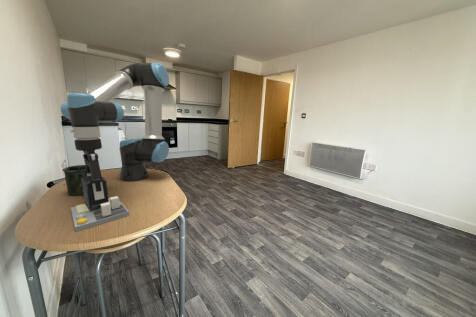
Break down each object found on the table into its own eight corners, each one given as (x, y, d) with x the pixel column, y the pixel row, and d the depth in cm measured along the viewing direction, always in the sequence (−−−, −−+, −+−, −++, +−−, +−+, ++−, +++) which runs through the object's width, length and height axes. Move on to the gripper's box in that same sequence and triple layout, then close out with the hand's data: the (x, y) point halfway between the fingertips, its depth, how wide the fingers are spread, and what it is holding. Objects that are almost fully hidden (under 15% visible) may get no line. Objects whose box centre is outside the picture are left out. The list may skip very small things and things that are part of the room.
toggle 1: (109, 211, 66) (108, 202, 65) (111, 214, 65) (110, 204, 64) (101, 214, 65) (100, 204, 64) (103, 216, 63) (101, 206, 62)
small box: (110, 205, 71) (107, 179, 69) (89, 211, 66) (85, 183, 64) (103, 197, 78) (100, 173, 76) (83, 202, 73) (79, 177, 71)
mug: (94, 186, 96) (91, 163, 93) (99, 194, 86) (96, 169, 83) (66, 191, 88) (61, 167, 86) (68, 201, 78) (63, 174, 76)
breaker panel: (117, 200, 80) (116, 194, 80) (129, 215, 68) (128, 209, 68) (71, 211, 70) (70, 205, 69) (75, 231, 58) (74, 224, 57)
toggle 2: (118, 205, 71) (117, 196, 71) (119, 207, 70) (118, 197, 69) (110, 207, 70) (109, 197, 69) (112, 209, 68) (110, 199, 67)
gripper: (71, 136, 73) (80, 186, 77) (77, 143, 55) (88, 208, 60) (95, 134, 78) (102, 182, 83) (107, 141, 61) (115, 201, 65)
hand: (96, 193), depth 71 cm, fingers open, 13 cm apart
